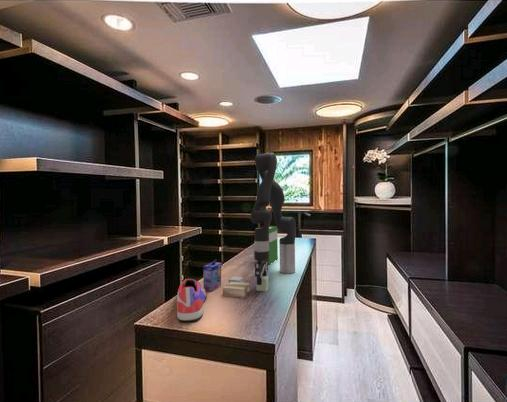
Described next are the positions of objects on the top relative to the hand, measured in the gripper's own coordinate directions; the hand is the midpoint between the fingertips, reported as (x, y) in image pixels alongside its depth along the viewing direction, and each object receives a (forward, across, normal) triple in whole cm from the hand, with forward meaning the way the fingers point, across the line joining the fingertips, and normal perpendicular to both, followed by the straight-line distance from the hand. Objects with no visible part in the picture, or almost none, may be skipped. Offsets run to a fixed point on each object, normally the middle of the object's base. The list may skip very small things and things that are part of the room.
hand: (261, 282), depth 143 cm
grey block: (+4, -2, -15) cm, 15 cm away
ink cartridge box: (+4, +5, -25) cm, 25 cm away
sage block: (+4, 0, 0) cm, 4 cm away
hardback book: (+3, -57, -13) cm, 59 cm away
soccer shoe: (+4, +28, -23) cm, 37 cm away
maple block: (+4, +8, -10) cm, 14 cm away
